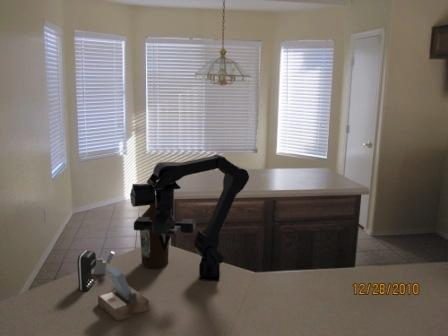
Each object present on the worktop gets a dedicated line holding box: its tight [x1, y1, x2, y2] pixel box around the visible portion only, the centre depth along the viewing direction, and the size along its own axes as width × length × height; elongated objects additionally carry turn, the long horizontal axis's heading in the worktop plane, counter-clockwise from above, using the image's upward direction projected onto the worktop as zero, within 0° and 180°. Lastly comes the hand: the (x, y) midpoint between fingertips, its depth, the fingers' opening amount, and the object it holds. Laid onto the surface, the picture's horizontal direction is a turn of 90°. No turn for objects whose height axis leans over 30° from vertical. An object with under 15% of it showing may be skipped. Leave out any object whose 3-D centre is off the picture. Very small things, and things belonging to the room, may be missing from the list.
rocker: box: [107, 265, 132, 301], centre depth 131 cm, size 2×6×10 cm, turn 40°
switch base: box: [97, 284, 150, 322], centre depth 132 cm, size 10×12×5 cm
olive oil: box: [139, 198, 170, 270], centre depth 161 cm, size 11×11×25 cm
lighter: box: [93, 250, 116, 275], centre depth 154 cm, size 7×2×8 cm, turn 91°
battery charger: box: [76, 249, 97, 291], centre depth 144 cm, size 7×4×11 cm, turn 174°
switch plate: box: [100, 292, 126, 309], centre depth 130 cm, size 4×9×1 cm, turn 41°
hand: (164, 250), depth 145 cm, fingers closed
